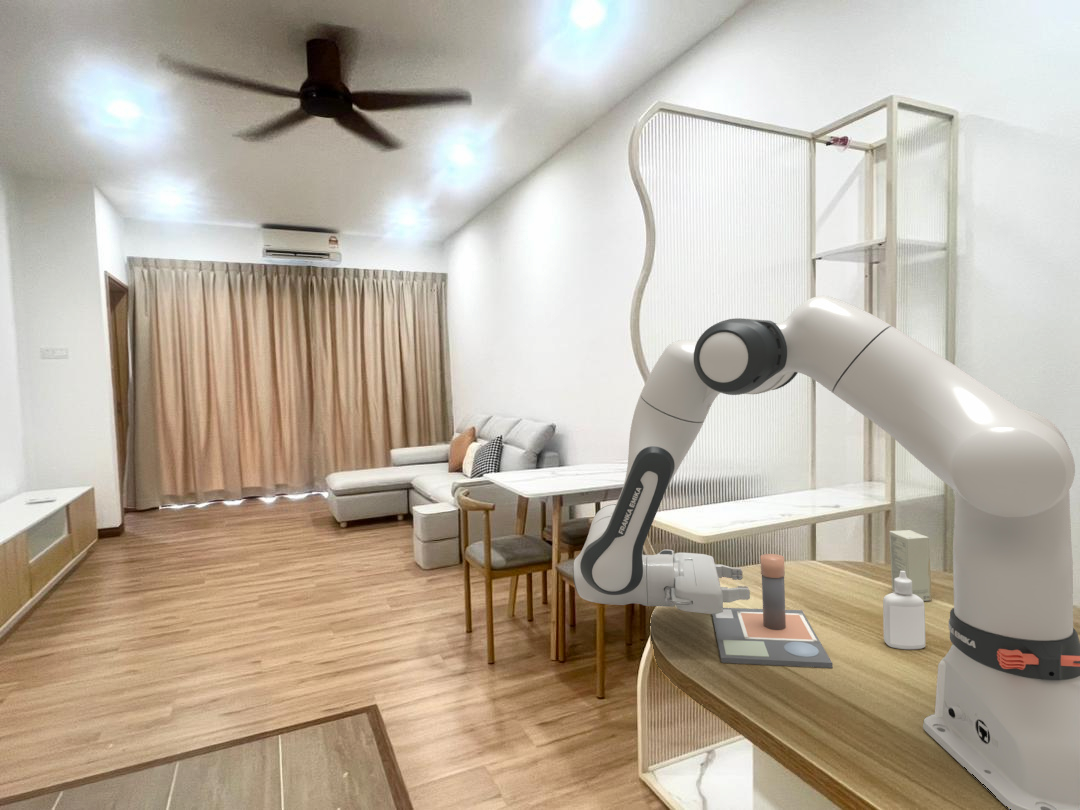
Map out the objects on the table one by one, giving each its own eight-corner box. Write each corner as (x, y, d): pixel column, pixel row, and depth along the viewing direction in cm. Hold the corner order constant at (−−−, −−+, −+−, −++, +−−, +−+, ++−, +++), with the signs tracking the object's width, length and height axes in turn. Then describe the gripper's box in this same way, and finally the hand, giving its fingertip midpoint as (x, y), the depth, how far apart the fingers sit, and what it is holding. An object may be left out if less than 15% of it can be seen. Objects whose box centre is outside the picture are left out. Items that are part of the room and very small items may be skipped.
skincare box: (932, 601, 111) (931, 537, 111) (908, 602, 111) (907, 538, 111) (912, 589, 117) (911, 529, 117) (889, 590, 118) (888, 530, 117)
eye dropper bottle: (923, 655, 91) (922, 578, 91) (882, 646, 95) (880, 572, 94) (926, 644, 95) (925, 570, 94) (886, 635, 98) (884, 564, 98)
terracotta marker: (788, 630, 100) (786, 560, 99) (764, 629, 101) (762, 560, 100) (784, 621, 103) (781, 553, 103) (761, 620, 104) (758, 553, 104)
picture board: (832, 668, 89) (832, 662, 89) (721, 662, 92) (721, 656, 92) (802, 614, 108) (801, 609, 108) (711, 611, 112) (711, 606, 111)
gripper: (663, 583, 95) (753, 586, 93) (663, 546, 115) (738, 547, 112) (665, 622, 96) (754, 626, 93) (665, 578, 116) (739, 580, 113)
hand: (745, 582), depth 103 cm, fingers open, 8 cm apart
